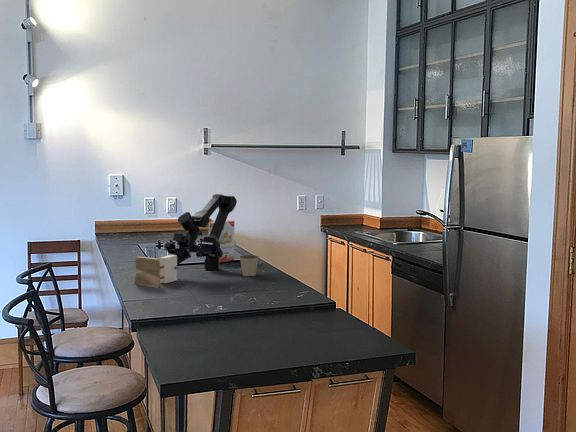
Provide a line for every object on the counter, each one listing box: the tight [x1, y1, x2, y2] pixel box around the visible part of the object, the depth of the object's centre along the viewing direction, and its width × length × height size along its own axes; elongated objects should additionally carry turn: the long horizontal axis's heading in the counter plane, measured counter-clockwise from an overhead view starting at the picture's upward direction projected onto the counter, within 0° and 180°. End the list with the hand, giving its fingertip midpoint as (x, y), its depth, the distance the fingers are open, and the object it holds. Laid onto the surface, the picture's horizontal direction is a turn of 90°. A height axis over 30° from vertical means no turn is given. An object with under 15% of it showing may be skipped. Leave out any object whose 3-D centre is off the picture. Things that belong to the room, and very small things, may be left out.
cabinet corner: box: [134, 256, 164, 289], centre depth 279 cm, size 15×14×12 cm
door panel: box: [159, 254, 179, 284], centre depth 281 cm, size 8×4×11 cm, turn 152°
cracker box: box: [207, 219, 235, 264], centre depth 331 cm, size 14×6×21 cm, turn 143°
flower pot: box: [238, 254, 260, 277], centre depth 297 cm, size 9×9×9 cm
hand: (175, 264), depth 285 cm, fingers closed
